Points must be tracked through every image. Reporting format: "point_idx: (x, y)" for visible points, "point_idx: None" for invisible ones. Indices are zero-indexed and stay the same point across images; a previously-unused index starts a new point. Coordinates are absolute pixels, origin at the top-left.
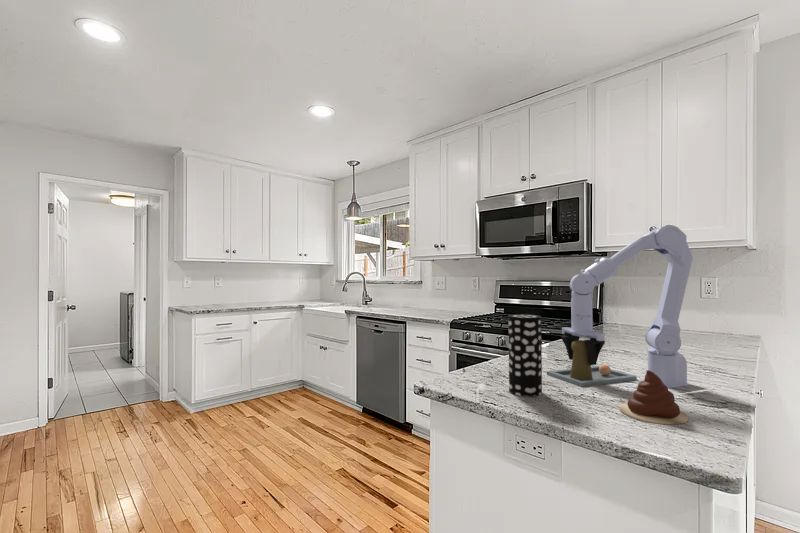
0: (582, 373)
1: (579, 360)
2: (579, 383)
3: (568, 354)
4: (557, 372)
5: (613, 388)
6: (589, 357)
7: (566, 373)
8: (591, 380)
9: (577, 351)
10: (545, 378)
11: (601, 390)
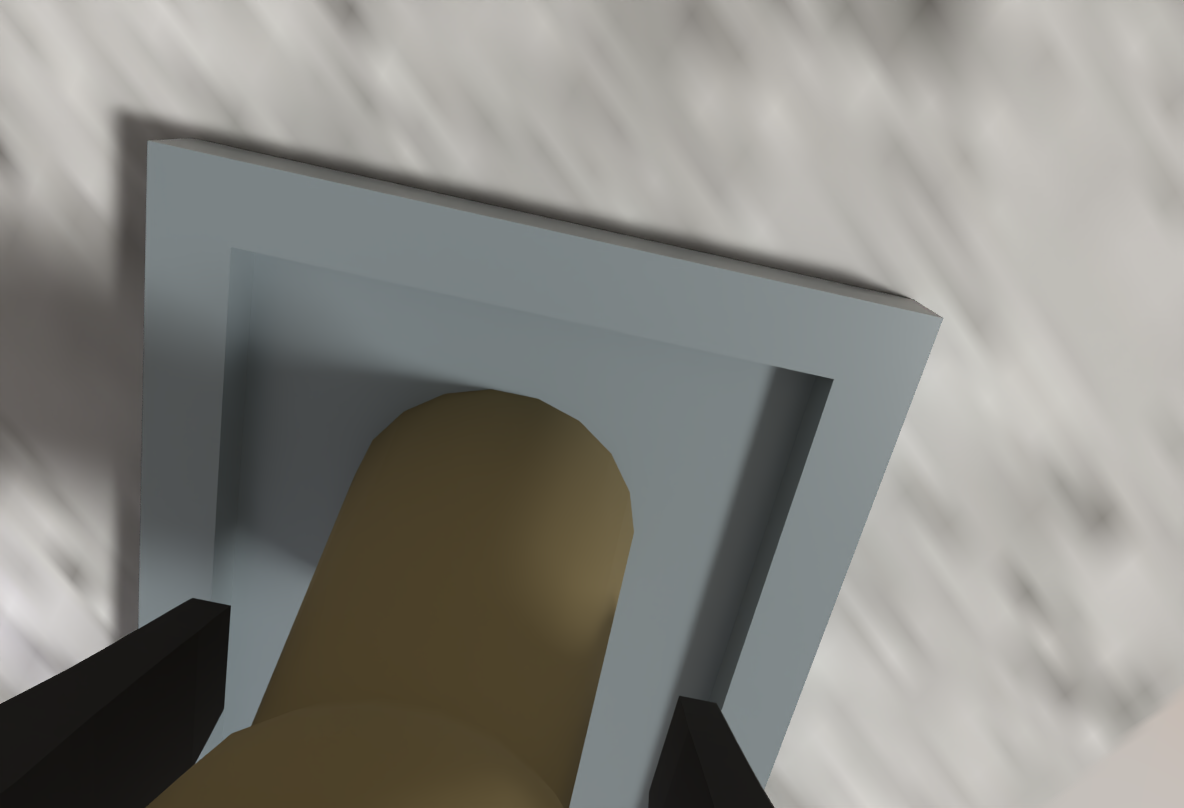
0: (368, 476)
1: (355, 587)
2: (202, 150)
3: (730, 756)
4: (811, 437)
5: (51, 492)
6: (88, 665)
7: (754, 569)
8: (198, 398)
9: (321, 704)
10: (856, 179)
11: (33, 294)
